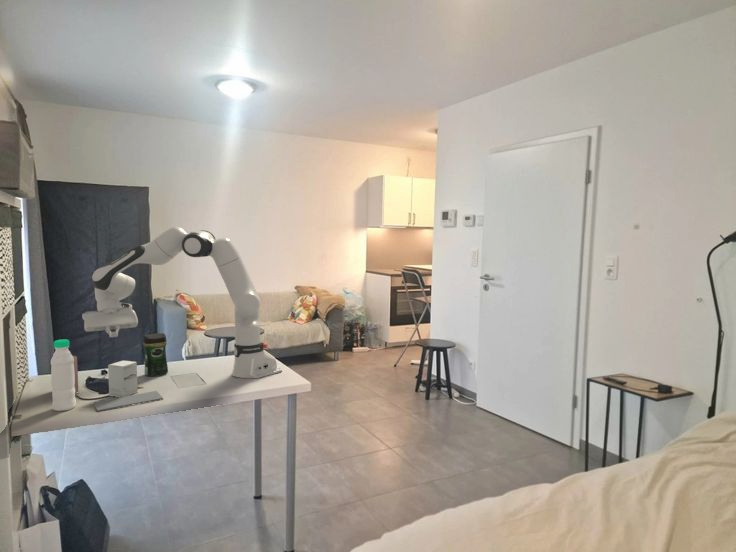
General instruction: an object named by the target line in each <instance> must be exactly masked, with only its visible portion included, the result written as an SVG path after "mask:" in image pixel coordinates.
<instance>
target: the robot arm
mask: <svg viewBox="0 0 736 552" xmlns="http://www.w3.org/2000/svg"><path fill="white" fill-rule="evenodd" d="M182 251H183V252H184V254H185V255H186V256H188V257H191V258H203V257H204V258H205V257H211V258H212V259H213V262H214V263H215V266H216V268H217V270H218V272H219V273H220V276H221V278H222V280H223V282H224V285H225V287H226V290H227V292H228V294H229V296H230V298H231V301H232V303H233V305H234V344H233V345H234V348H233V354H234V355H233V356H234V361H233V362H234V363H233V368H232V372H231V376H233V377H236V378H242V379H244V378H245V379H247V378H248V379H259V378H264V377H267V376H271V375H275V374H278V373H282V372H283V369H282V367H281V366H279V365H278V364H277V363H278V362H277V359H276V358H275V356H274V355H272V354H271V353H269V352H268V351H266V350H265V349H267V348H268V347H269V344H267V343H265V342H262V341H261V322H260V321H261V320H260V317H261V316H260V307H261V303H262V302H261V298H260V296H259V294H258V292H257V289H256V287H255V285H254V283H253V281H252V279H251V277H250V274H249V271H248V270H247V268H246V265H245V264H244V261H243V258H242V256H241V254H240V252H239V251H238V249H237V248H236V246H235V244H234V243H233V242H232V240H231V239H229V238H227V237H220V238H216V237H215V236H214V234H213V233H212V232H210V231H208V230H195V231H191V232H189V233H188V232H187V231H185V229H183V228H182V227H179V226H172V227H170V228H168V229H165V231H162V233H160V234H159V235H158V236H156V237H155V238H154V239H152V240H151V241H149V242H147V243H144V244H142V245H136V246H133V247H132V248H131V249H130V248H129V250H127V251H126V252H123V254H120V255H118V257H116V258H114V259H113V260H112V261H109V262H108V263H106V264H104V265H102V266H100V267H97V268H96V269H95V270H94V271H93V272H92V275H91V282H92V285H93V287H94V297H95V301H96V309H97V310H94V311H85V312H84V313H82V315H81V318H82V320H83V321H84V325H83V327H84V331H85V332H87V333H88V332H98V331H99V332H100V331H105V333H107V334H108V335H109V338H118V336H119V332H120V330H121V329H128V328H129V329H130V328H136V327H137V326H138V324H139V319H138V316H137V313H136V311H135V310H134V309H133V305H132V304H131V303H126V302H121V301H123V300H125V299H127V298H128V297H130V296H132V295H133V294H134V293H135V291H136V288H137V282H136V279H135V278H134V277H131V276H129V275H127V274H124V273H122V272H123V271H126V269H128V268H130V267H131V266H133V265H137V264H148V265H152V266H153V265H154V266H163V265H165V264H167V263H169V262H170V261H171V260H173V259H174V258H175V257H176V256H177V255H179V254H180V253H182ZM111 330H115V331H111Z"/></svg>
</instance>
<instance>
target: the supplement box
mask: <svg viewBox="0 0 736 552" xmlns="http://www.w3.org/2000/svg"><path fill="white" fill-rule="evenodd" d="M137 363H138V362H137V361H130V360H120V361H117V362H112V363H110V364H108V365H107V370H108V396H109V397H113V396H115V397H114V398H119V397H125V396H130V395H135V394H138V364H137Z"/></svg>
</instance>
